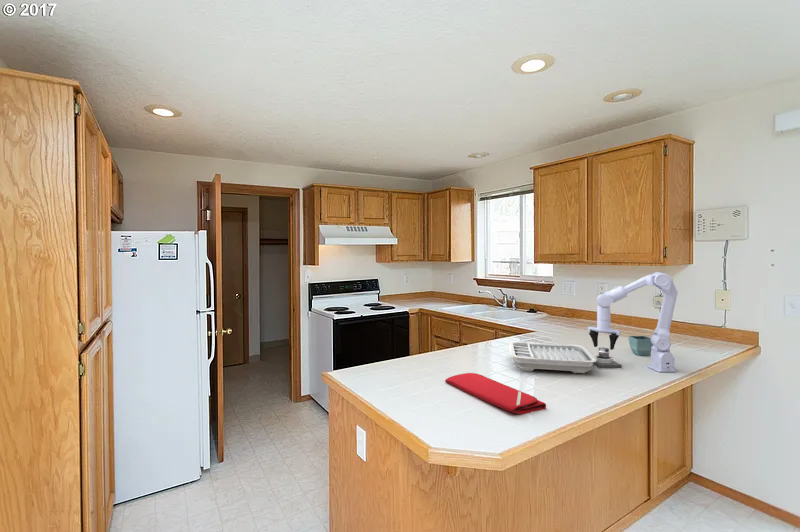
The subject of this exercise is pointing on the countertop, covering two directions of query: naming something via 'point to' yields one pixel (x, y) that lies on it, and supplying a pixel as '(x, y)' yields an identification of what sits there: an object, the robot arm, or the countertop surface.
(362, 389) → the countertop surface
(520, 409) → the red folded towel
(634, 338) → the flower pot
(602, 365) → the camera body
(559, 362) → the dish rack
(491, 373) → the countertop surface
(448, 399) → the countertop surface
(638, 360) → the countertop surface
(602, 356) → the lens
